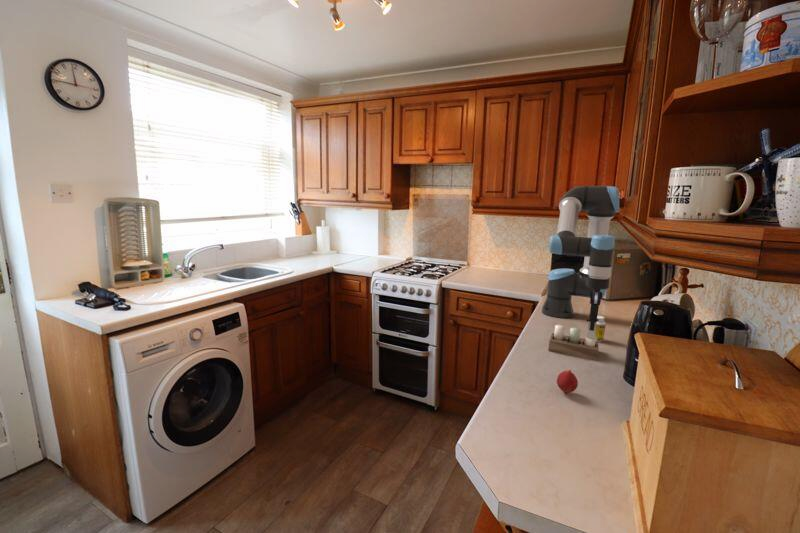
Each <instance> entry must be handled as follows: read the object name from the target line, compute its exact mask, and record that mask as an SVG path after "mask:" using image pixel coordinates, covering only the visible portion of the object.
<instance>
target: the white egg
mask: <svg viewBox="0 0 800 533" xmlns="http://www.w3.org/2000/svg"><path fill="white" fill-rule="evenodd" d="M584 339H585V343H584V345H587V346H592V347H595V341H596V339H592V338H587V335H586V336H585V337H584Z"/></svg>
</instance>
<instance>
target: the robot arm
mask: <svg viewBox="0 0 800 533" xmlns="http://www.w3.org/2000/svg"><path fill="white" fill-rule="evenodd" d="M558 209H559V219H558V223H557V224H558V225H557V229H556V235H551V236H550V238H549V247H548V248H549V249H548V250H549V253H551V254H555V255H559V256H560V255H563V256H577V257H584V259H583V260H584V261H583V266H582V267H581V268H580V269H579V272H576V271H575V269H573V268H556V269H551V270H550V272H549V274H548V279H547V280H548V282H547V292H546V298H545V300H544V302H543V304H542V307H541V313H542V314H544V315H546V316H550V317H553V318H558V319H559V318H561V319H568V318H573V317H574V311H575V310H574V307H573V303H572V296H574V297H581V298H587V299H589V304H590V308H589V315H588V316H589V317H588V319H586V322H588V324H587V331H586V336H587V338H592V339H595V332H596V324H597V321H599V319H597V316H599V314H598V313H599V309H600V307H599V306H601V301H602V299H603V298H604V296H605V294H606V292H607V290H608V289H609V288H610V281H611V279H610V278H611V276H612V264H613V257H614V250H615V246H616V245H615V242H616V241H615V240H616V238H615V236H614V235H610V234H609V231H610V230H609V229H610V222H611V220H612V219H613V218H614V217H615V214H617V213H619V212H620V191H619V188H618V187H616V186H612V185H611V186H609V185H578V186H575V187H573V188H571V189H570V190H568V191H566V192H565V193H564V194H563V196H561V198H560V199H559V205H558ZM580 212H586V214H585V215H586V216H587V217H588V219H589V222H588V228H587V236H586V237H585V236H584V237H583V236H577V230H578V220H579V213H580Z"/></svg>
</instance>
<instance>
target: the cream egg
mask: <svg viewBox="0 0 800 533" xmlns="http://www.w3.org/2000/svg"><path fill="white" fill-rule="evenodd" d="M565 330H566V326H565V325H561V324H555V325H554V339H555V340H560V341H563V340H564V335H565V332H566V331H565Z"/></svg>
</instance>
